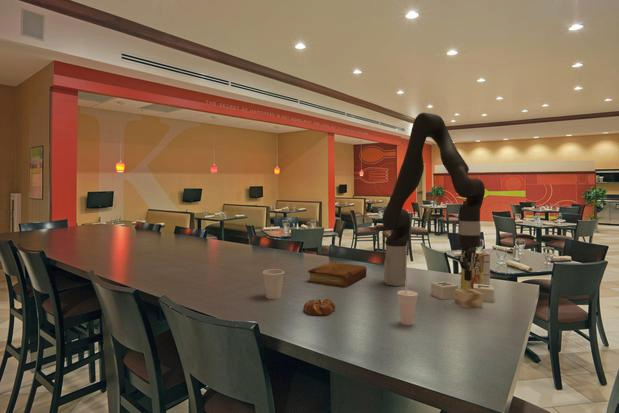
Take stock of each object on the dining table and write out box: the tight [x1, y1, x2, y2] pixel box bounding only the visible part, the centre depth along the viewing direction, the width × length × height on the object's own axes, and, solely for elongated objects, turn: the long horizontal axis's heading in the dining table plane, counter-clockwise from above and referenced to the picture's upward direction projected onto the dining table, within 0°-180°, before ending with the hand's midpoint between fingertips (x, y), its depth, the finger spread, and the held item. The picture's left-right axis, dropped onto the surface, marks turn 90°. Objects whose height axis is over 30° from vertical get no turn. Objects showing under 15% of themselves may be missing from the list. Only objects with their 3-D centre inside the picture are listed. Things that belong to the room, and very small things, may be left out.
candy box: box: [459, 252, 484, 289], centre depth 160 cm, size 9×4×15 cm, turn 116°
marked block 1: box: [430, 281, 459, 301], centre depth 151 cm, size 7×7×5 cm
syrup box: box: [476, 250, 491, 285], centre depth 169 cm, size 6×6×14 cm
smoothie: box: [397, 278, 419, 326], centre depth 121 cm, size 6×6×14 cm
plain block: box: [454, 288, 484, 309], centre depth 140 cm, size 7×7×5 cm
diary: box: [307, 261, 367, 289], centre depth 177 cm, size 23×19×6 cm
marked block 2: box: [474, 284, 495, 303], centre depth 148 cm, size 7×7×5 cm
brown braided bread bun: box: [302, 298, 336, 316], centre depth 132 cm, size 12×11×4 cm
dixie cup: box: [262, 268, 285, 300], centre depth 148 cm, size 8×8×10 cm
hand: (468, 280), depth 140 cm, fingers closed
